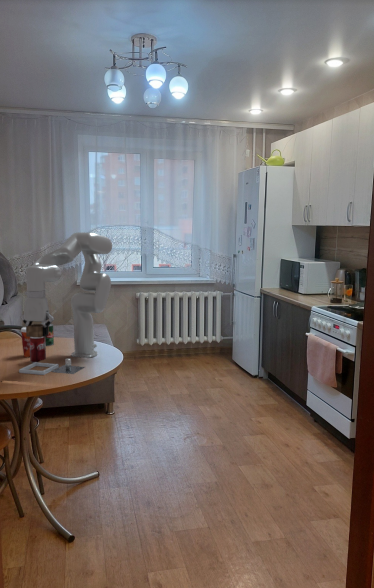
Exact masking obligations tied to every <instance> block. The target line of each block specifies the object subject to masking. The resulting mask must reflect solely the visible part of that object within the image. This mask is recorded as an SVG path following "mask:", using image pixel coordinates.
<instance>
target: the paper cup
mask: <svg viewBox="0 0 374 588" xmlns="http://www.w3.org/2000/svg"><path fill="white" fill-rule="evenodd" d="M20 333H21V343H22V352H23V353H22V354H23V357H25V358H30V342H29V338H30V337H26V326H25V327H24V326H23V327H21V329H20Z"/></svg>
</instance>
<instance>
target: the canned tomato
mask: <svg viewBox="0 0 374 588" xmlns="http://www.w3.org/2000/svg"><path fill="white" fill-rule="evenodd" d="M54 340H55V339H54V323H51V324H50V325H49V335H48V336H45V342H46V347H50V346H53V345H54V344H55V341H54Z"/></svg>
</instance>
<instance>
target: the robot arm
mask: <svg viewBox="0 0 374 588" xmlns="http://www.w3.org/2000/svg"><path fill="white" fill-rule="evenodd" d="M112 249H113V242H112V240H111V239H110V238H109V237H107V236H104V235H101V234H97V233H95V232H81V231H80V232H74V233H73V234H71V235H70V236H69V237H68V238H67V239H66V240H65V241H64V242H63V243H61V245H60V246H59V247H58V248H56V249H54V250H52V251H50V252H48V253H45V254H44V255H42V256H40V257H39V258H38V259H37V260H35V262H34V263H33V264H32V265H30V266H27V267H26V269H25V272H26V273H25V274H26V291H25V292H24V294H25V296H26V297H25V300H24V305H23V306H24V308H23V314H21V316H19V317H20V319H21V320H22V322H23V323H24V325H25V327H26V326H29V325H32V324H33V322H39V323H40V322H41V324H43V326H44V327H43V337H45V336H48V326H49V325H50V324H53V321H55V317H54V316H53V315H51V313H50V306H49V301H48V298H47V297H46V282H49V283H55V282H58V281H59V280H60V279H61V277H62V270H61V268H60V267H59V266H64V265H67V264H69V263H72V262H73V261H74V260H75V259H76V258H77V256H78V255H79V254H81V253H82V255H83V259H84V266H83V269H82V272H81V273H82V274H81V276H80V279H79V288H80V289H81V290H83V291H84V292H81V291H80V292H77V293H75V294H73V295H72V297H71V300H70V304H71V309H72V310H71V311H72V314H73V336H74V338H73V340H74V341H73V342H74V343H73V344H74V346H73V347H74V351H73V352H72V353H71V357H73V358H85V359H89V358H93V357H96V356H97V355H98V352H97V351H96V350H95V349H96V348H97V347H98V345H97V343H95V341H94V340H95V338H94V335H95V333H94V329H95V328H94V318H93V315H92V314H93V313H94V314H99V313H102V312H104V310H105V308H106V306H107V303H108V299H109V295H110V292H111V288H112V282H111V280H112V279H111V276H110V275H109V274H107V273H105V272H101V271H102V267H103V266H102V262H101V259H100V257H99V256H98V255H108V254H110V253H111V252H112ZM91 292H92V293H91ZM93 292H94V293H93ZM91 313H92V314H91Z"/></svg>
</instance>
